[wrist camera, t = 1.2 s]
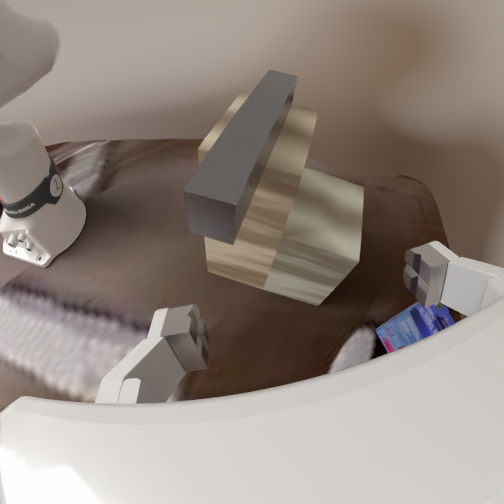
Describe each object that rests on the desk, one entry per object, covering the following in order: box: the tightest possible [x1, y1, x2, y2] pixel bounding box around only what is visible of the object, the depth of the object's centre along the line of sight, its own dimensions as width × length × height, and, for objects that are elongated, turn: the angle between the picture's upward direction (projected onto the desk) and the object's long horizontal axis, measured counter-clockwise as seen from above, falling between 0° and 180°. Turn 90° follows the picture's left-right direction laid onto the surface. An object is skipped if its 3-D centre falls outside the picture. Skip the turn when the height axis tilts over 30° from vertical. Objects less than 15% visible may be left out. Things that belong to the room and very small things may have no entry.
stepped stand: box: [198, 92, 364, 306], centre depth 35 cm, size 12×18×24 cm, turn 73°
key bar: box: [183, 70, 298, 245], centre depth 20 cm, size 19×3×4 cm, turn 163°
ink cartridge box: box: [375, 301, 455, 353], centre depth 33 cm, size 10×6×14 cm, turn 28°
